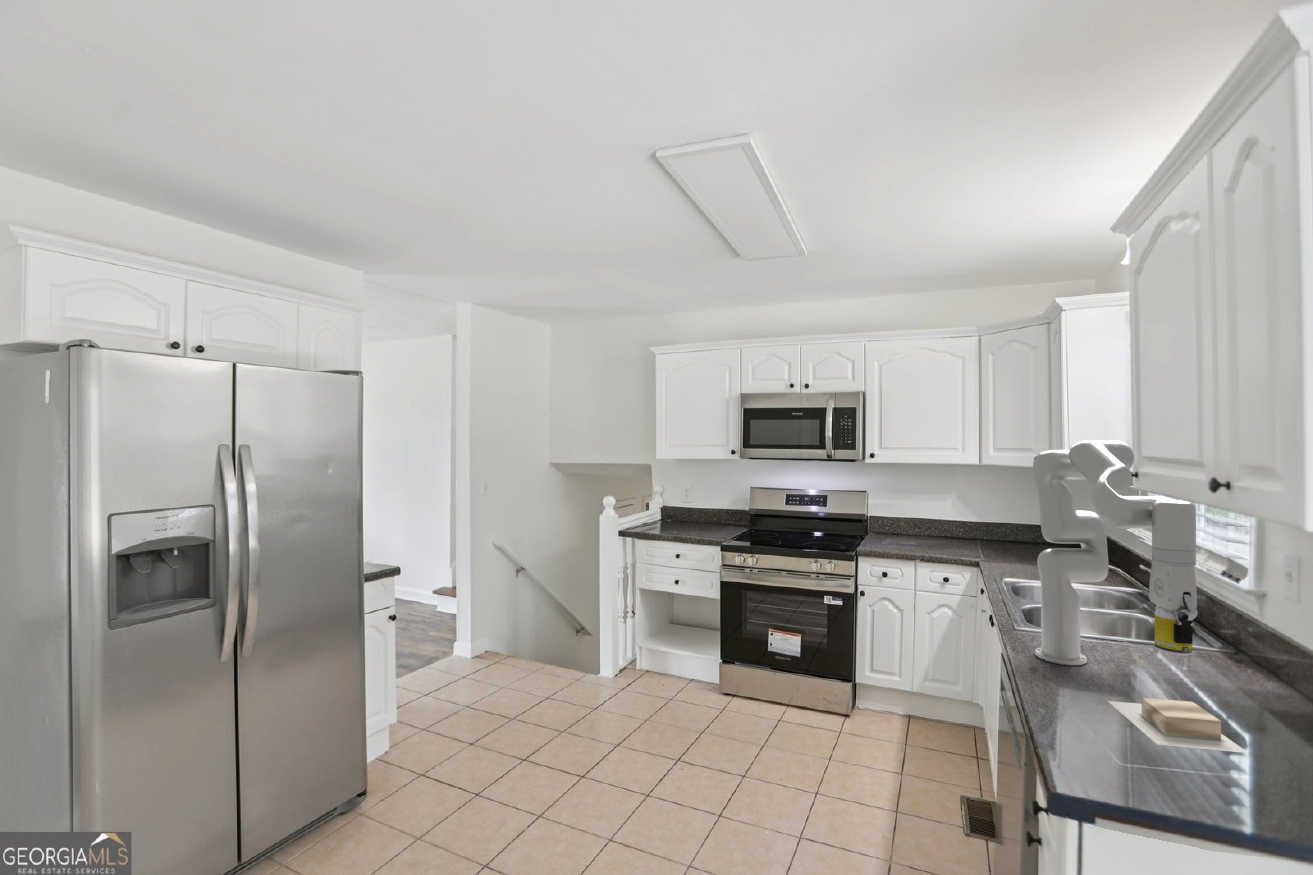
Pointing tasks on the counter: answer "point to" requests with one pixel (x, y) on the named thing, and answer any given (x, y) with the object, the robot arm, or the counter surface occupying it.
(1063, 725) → the counter surface
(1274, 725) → the counter surface
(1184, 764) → the counter surface
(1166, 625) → the pill bottle
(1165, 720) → the pedestal block
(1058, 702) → the counter surface
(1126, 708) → the off-white paper sheet
